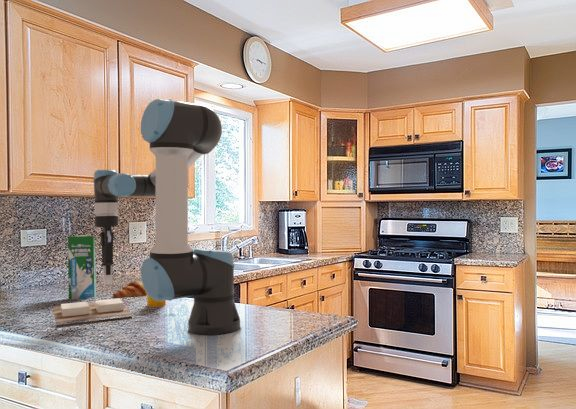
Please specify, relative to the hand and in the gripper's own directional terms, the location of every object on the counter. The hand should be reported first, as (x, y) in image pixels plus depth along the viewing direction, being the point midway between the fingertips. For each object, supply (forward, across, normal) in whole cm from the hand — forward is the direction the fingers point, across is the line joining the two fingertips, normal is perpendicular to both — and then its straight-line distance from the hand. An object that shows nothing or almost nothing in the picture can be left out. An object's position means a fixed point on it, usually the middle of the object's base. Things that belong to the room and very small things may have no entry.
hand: (107, 284), depth 164 cm
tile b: (+7, +2, 0) cm, 7 cm away
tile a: (+7, +2, +11) cm, 13 cm away
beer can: (+10, -4, -15) cm, 19 cm away
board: (+10, -1, +6) cm, 11 cm away
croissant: (+10, +22, -14) cm, 28 cm away
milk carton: (+9, +30, +6) cm, 32 cm away
